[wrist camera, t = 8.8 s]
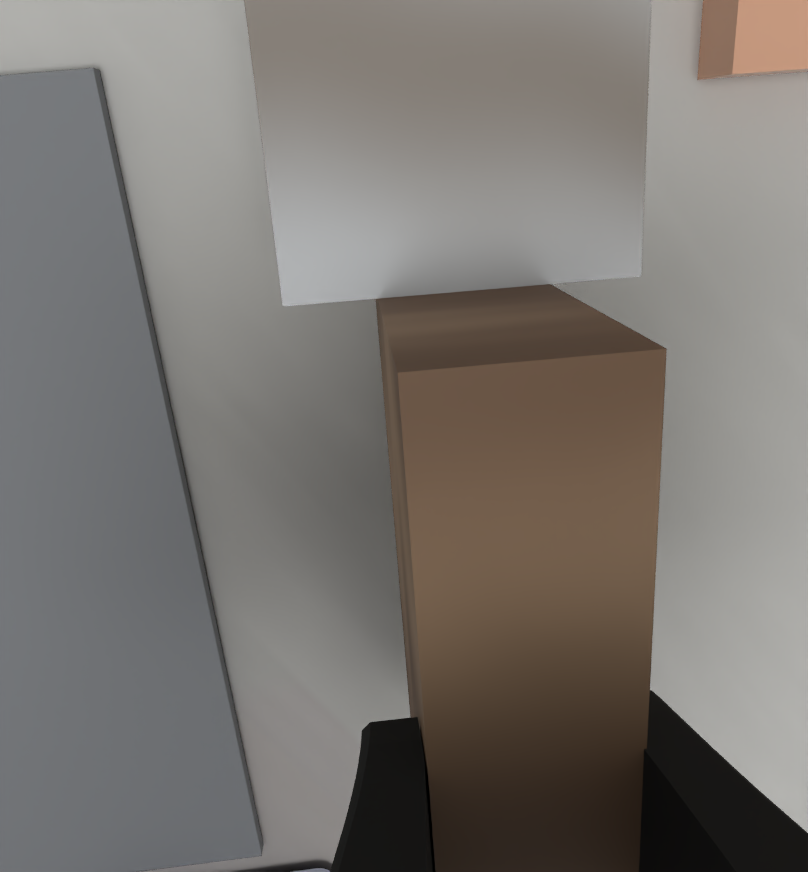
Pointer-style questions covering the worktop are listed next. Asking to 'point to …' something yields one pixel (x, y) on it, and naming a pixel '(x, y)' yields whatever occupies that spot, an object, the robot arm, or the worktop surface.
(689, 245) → the worktop surface
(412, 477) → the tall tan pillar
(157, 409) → the mat
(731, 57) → the tile
